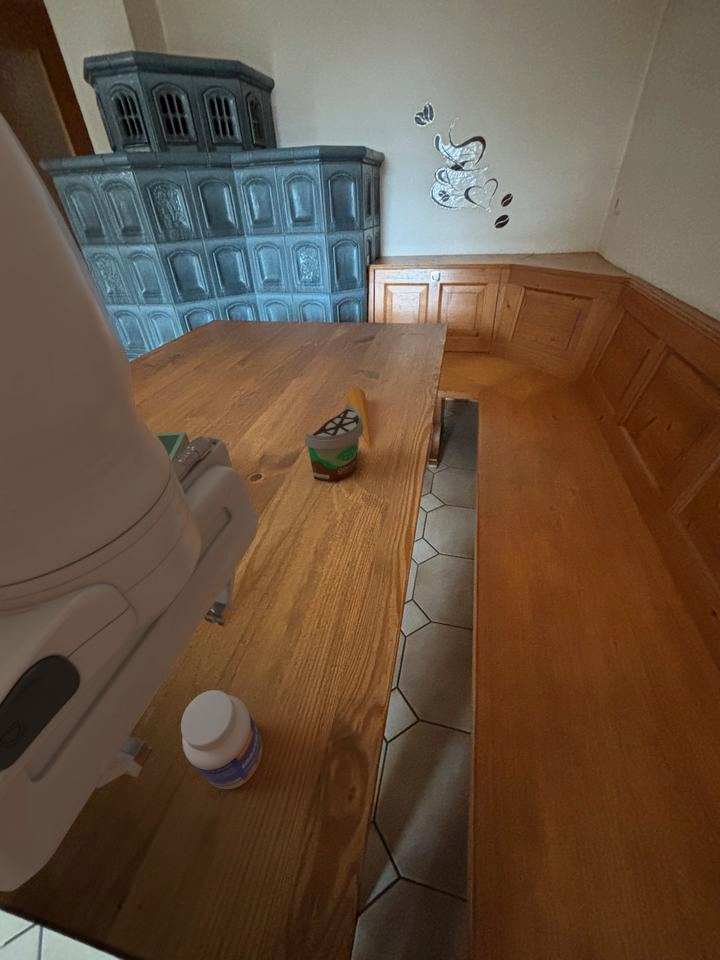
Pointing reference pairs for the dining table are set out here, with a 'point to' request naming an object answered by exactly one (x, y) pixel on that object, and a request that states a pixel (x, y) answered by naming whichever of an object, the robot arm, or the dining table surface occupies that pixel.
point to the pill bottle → (221, 739)
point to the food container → (335, 446)
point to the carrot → (360, 409)
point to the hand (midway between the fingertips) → (184, 678)
